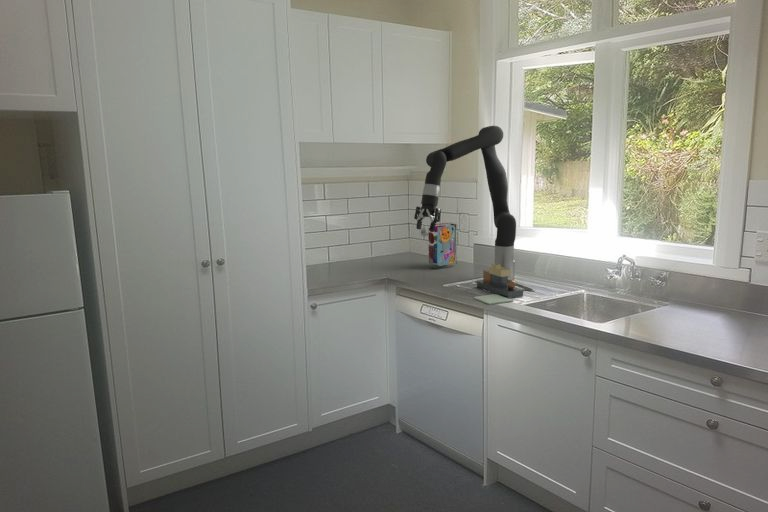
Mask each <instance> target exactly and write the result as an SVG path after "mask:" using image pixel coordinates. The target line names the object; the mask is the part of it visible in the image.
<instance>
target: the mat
mask: <svg viewBox="0 0 768 512" xmlns="http://www.w3.org/2000/svg"><path fill="white" fill-rule="evenodd" d="M472 298H473V299H474V300H477V301H479V302H481V303H484V304H486V305H489V306H491V305H498V304H505V303H513V302H514V300H513V299H512V298H510V299H508V298H506V297H503V296H500V295H497V294H494V293H492V294H487V295H486V294H485V295H479V296H473V297H472Z"/></svg>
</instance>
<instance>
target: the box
mask: <svg viewBox="0 0 768 512" xmlns="http://www.w3.org/2000/svg"><path fill="white" fill-rule="evenodd" d="M457 231H458V228H457V223H456V222H455V223H454V222H443V223H442V222H441V223H436V225H435V230H434V231H430V226H428V233H427V229H426V228H425V227H421V229H420V235H421V237H423V238H425V237H426V236H428V246H427V247H428V265H429V266H433V267H429V269H431V270H432V269H434V270H438V267H439V268H441V267H442V269H445V268H448V269H451V268H452V267H455V266H456V265H457V262H454V261H455V260H458V256H457V241H458V237H457ZM434 233H436V235H435V234H434ZM454 263H455V264H456V265H455V264H454ZM453 264H454V265H453ZM434 267H436V268H434ZM443 267H444V268H443Z"/></svg>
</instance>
